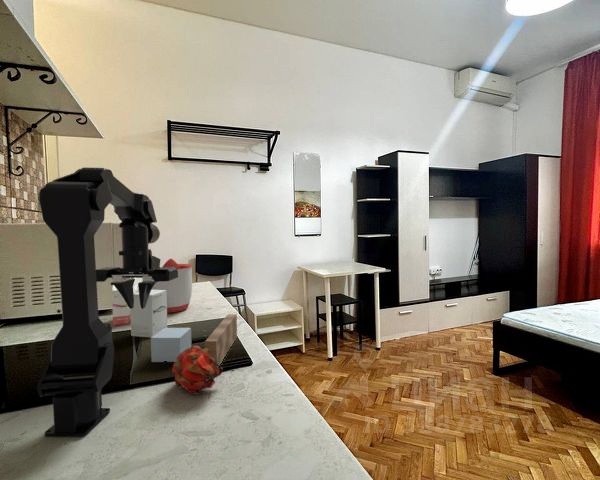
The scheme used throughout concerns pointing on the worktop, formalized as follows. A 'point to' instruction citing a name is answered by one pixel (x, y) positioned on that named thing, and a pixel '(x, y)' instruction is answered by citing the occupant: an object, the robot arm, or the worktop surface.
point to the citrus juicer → (177, 287)
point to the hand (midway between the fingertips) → (137, 308)
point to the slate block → (170, 344)
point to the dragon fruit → (195, 369)
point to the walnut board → (222, 338)
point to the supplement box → (149, 314)
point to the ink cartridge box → (120, 308)
